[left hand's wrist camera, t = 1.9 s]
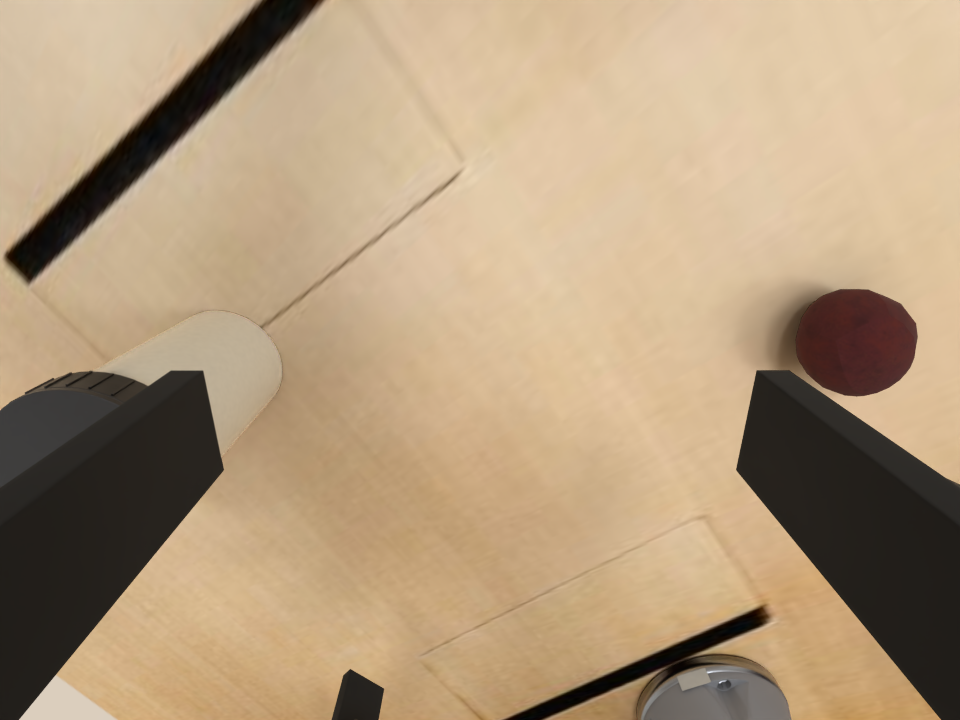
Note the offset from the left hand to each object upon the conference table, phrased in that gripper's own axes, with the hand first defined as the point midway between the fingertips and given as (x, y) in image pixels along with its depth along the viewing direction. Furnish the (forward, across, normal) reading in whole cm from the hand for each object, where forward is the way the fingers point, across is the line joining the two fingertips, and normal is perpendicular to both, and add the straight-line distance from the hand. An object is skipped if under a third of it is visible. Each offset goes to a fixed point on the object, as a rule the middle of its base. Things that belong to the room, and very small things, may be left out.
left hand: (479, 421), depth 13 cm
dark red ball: (+28, +27, -6) cm, 39 cm away
